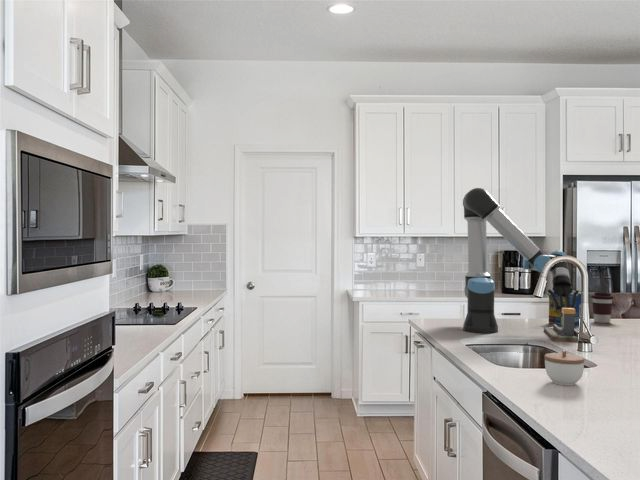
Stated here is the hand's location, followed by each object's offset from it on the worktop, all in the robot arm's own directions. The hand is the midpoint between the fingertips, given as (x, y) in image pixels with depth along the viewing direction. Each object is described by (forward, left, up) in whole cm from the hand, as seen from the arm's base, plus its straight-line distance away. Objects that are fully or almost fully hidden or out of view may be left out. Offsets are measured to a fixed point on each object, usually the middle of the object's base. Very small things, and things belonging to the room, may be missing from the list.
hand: (567, 322), depth 244 cm
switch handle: (0, -3, -5) cm, 6 cm away
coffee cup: (+25, +53, -7) cm, 59 cm away
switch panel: (0, +3, -7) cm, 7 cm away
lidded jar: (-14, -82, -7) cm, 84 cm away
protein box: (+7, +42, -7) cm, 43 cm away
